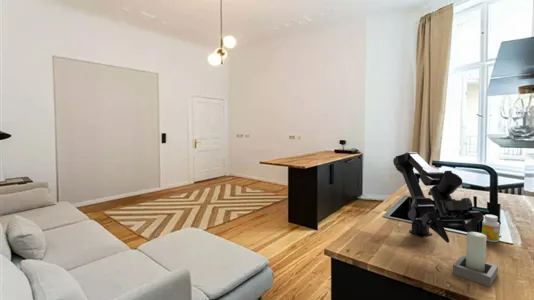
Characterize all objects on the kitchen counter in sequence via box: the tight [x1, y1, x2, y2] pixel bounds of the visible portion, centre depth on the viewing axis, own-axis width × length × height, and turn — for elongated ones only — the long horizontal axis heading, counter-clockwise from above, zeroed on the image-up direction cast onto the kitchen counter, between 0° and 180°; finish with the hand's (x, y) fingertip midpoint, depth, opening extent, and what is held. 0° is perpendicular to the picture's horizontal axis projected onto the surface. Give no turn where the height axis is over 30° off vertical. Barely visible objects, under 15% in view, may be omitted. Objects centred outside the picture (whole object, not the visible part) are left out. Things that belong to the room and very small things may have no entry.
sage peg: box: [465, 231, 487, 274], centre depth 85 cm, size 5×5×13 cm
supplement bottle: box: [481, 214, 501, 243], centre depth 109 cm, size 5×5×10 cm
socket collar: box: [452, 254, 499, 288], centre depth 86 cm, size 9×9×3 cm
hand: (462, 242), depth 91 cm, fingers open, 9 cm apart
